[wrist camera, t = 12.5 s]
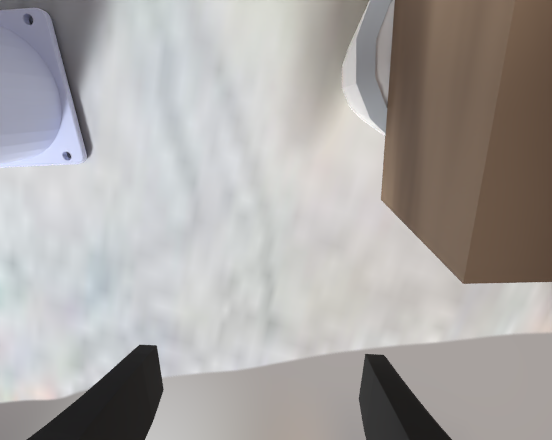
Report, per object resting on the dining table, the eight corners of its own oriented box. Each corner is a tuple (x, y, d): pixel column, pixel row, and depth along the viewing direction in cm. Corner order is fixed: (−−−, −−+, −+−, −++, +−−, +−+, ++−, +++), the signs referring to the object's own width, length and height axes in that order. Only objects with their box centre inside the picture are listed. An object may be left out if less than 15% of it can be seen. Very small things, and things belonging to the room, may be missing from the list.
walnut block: (381, 199, 12) (463, 283, 6) (405, -150, 8) (637, -669, 3) (501, 194, 12) (701, 278, 6) (577, -168, 8) (1220, -779, 3)
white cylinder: (378, -33, 15) (447, -141, 8) (487, 44, 16) (626, -1, 9) (305, 99, 17) (316, 94, 11) (405, 159, 18) (471, 189, 12)
